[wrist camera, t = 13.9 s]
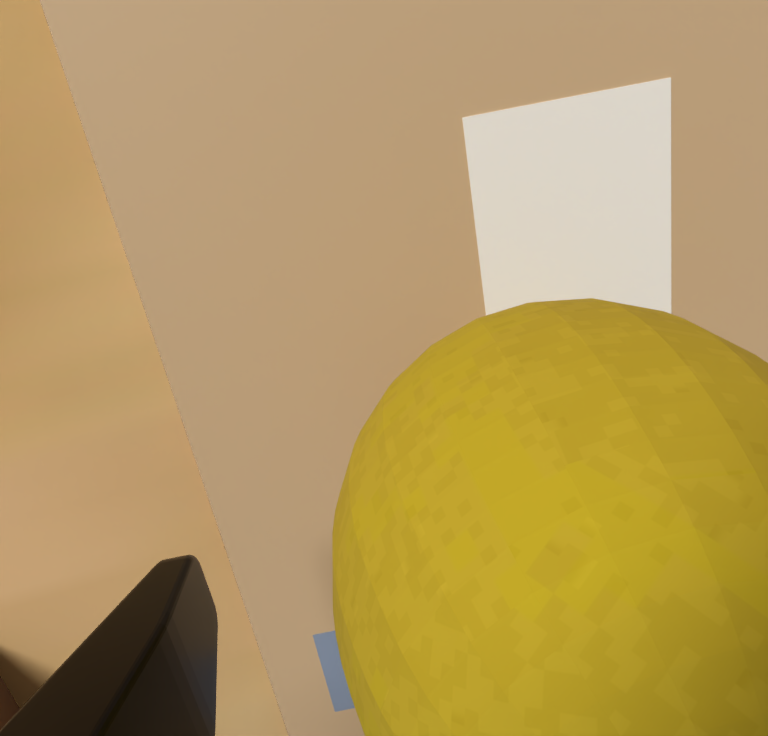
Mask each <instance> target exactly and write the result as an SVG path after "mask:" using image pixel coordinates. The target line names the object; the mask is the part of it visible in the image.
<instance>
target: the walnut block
mask: <svg viewBox="0 0 768 736" xmlns="http://www.w3.org/2000/svg"><path fill="white" fill-rule="evenodd" d="M19 710H20V709H19V707H18V705H17V704H16V702H15V700H14V698H13V697H12V695H11V693H10V692H9V690H8V688H7V687H6V685H5V683H4V682H3V680H2V678H1V677H0V730H1V729H2V728H3V727H4V726H5V725H6V723H7V722H8V721H9V720H10V719H11V718H12V717H13V716H14V715H15V714H16V713H17V712H18V711H19Z"/></svg>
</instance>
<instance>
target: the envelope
mask: <svg viewBox="0 0 768 736" xmlns="http://www.w3.org/2000/svg"><path fill="white" fill-rule="evenodd" d="M40 2H41V5H42V8H43V11H44V14H45V17H46V20H47V23H48V26H49V29H50V32H51V35H52V38H53V41H54V44H55V47H56V50H57V53H58V56H59V59H60V62H61V64H62V67H63V70H64V73H65V76H66V79H67V82H68V85H69V88H70V91H71V94H72V97H73V100H74V103H75V106H76V109H77V112H78V115H79V118H80V121H81V124H82V127H83V129H84V132H85V135H86V138H87V141H88V144H89V147H90V150H91V153H92V156H93V159H94V162H95V165H96V168H97V171H98V174H99V177H100V180H101V183H102V186H103V189H104V192H105V195H106V197H107V200H108V203H109V206H110V209H111V212H112V215H113V218H114V221H115V224H116V227H117V230H118V233H119V236H120V239H121V242H122V245H123V248H124V251H125V254H126V257H127V260H128V263H129V265H130V268H131V271H132V274H133V277H134V280H135V283H136V286H137V289H138V292H139V295H140V298H141V301H142V304H143V307H144V310H145V313H146V316H147V319H148V322H149V325H150V328H151V331H152V333H153V336H154V339H155V342H156V345H157V348H158V351H159V354H160V357H161V360H162V363H163V366H164V369H165V372H166V375H167V378H168V381H169V384H170V387H171V390H172V393H173V396H174V398H175V401H176V404H177V407H178V410H179V413H180V416H181V419H182V422H183V425H184V428H185V431H186V434H187V437H188V440H189V443H190V446H191V449H192V452H193V455H194V458H195V461H196V464H197V466H198V469H199V472H200V475H201V478H202V481H203V484H204V487H205V490H206V493H207V496H208V499H209V502H210V505H211V508H212V511H213V514H214V517H215V520H216V523H217V526H218V529H219V532H220V534H221V537H222V540H223V543H224V546H225V549H226V552H227V555H228V558H229V561H230V564H231V567H232V570H233V573H234V576H235V579H236V582H237V585H238V588H239V591H240V594H241V597H242V600H243V602H244V605H245V608H246V611H247V614H248V617H249V620H250V623H251V626H252V629H253V632H254V635H255V638H256V641H257V644H258V647H259V650H260V653H261V656H262V659H263V662H264V665H265V667H266V670H267V673H268V676H269V679H270V682H271V685H272V688H273V691H274V694H275V697H276V700H277V703H278V706H279V709H280V712H281V715H282V718H283V721H284V724H285V727H286V730H287V733H288V735H289V736H365V735H364V732H363V729H362V726H361V723H360V721H359V718H358V715H357V712H356V709H355V706H354V703H353V701H352V698H351V695H350V691H349V688H348V684H347V681H346V678H345V674H344V671H343V667H342V664H341V659H340V654H339V649H338V644H337V639H336V634H335V625H334V616H333V558H332V532H333V524H334V515H335V510H336V506H337V502H338V498H339V494H340V490H341V487H342V484H343V480H344V477H345V474H346V470H347V467H348V464H349V460H350V457H351V454H352V450H353V447H354V444H355V442H356V440H357V437H358V435H359V433H360V431H361V429H362V428H363V426H364V424H365V423H366V421H367V420H368V418H369V417H370V415H371V414H372V412H373V410H374V409H375V407H376V406H377V404H378V403H379V401H380V399H381V398H382V396H383V395H384V393H385V392H386V390H387V388H388V387H389V386H390V385H391V384H392V382H393V381H394V380H395V379H396V378H397V377H398V376H399V375H400V374H401V373H402V372H404V371H405V370H406V369H407V368H408V367H409V366H410V365H411V364H412V363H413V362H414V361H415V360H416V359H417V358H418V357H419V356H420V355H421V354H423V353H424V352H425V351H426V350H427V349H428V348H429V347H430V346H431V345H432V344H434V343H436V342H437V341H439V340H441V339H443V338H444V337H446V336H448V335H449V334H451V333H453V332H454V331H456V330H458V329H460V328H461V327H463V326H465V325H466V324H468V323H470V322H471V321H473V320H475V319H477V318H480V317H483V316H486V315H489V314H493V313H496V312H499V311H502V310H506V309H509V308H512V307H515V306H519V305H522V304H525V303H530V302H542V301H557V300H573V299H588V298H594V299H599V300H605V301H610V302H616V303H621V304H627V305H632V306H638V307H643V308H649V309H654V310H660V311H664V312H667V313H670V314H673V315H676V316H678V317H681V318H684V319H686V320H688V321H690V322H692V323H694V324H696V325H698V326H700V327H702V328H704V329H706V330H708V331H710V332H712V333H713V334H715V335H717V336H719V337H721V338H723V339H725V340H727V341H729V342H731V343H733V344H735V345H737V346H739V347H741V348H743V349H745V350H747V351H749V352H751V353H753V354H755V355H757V356H758V357H760V358H761V359H763V360H764V361H766V362H767V363H768V0H40Z"/></svg>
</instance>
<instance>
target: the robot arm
mask: <svg viewBox="0 0 768 736" xmlns="http://www.w3.org/2000/svg"><path fill="white" fill-rule="evenodd" d="M217 633H218V622H217V613H216V608H215V605H214V602H213V599H212V596H211V593H210V590H209V588H208V585H207V582H206V579H205V577H204V574H203V571H202V568H201V565H200V563H199V561H198V560H197V558H196V557H194V556H192V555H185V556H180V557H175V558H170V559H165V560H162V561H160V562H159V563H158V564H156V565H155V566H154V567H153V569H152V570H151V571H150V572H149V573H148V574H147V575H146V576H145V577H144V578H143V579H142V580H141V581H140V582H139V583H138V584H137V586H136V587H135V588H134V589H133V590H132V591H131V592H130V593H129V594H128V595H127V596H126V597H125V598H124V599H123V600H122V601H121V603H120V604H119V605H118V606H117V607H116V608H115V609H114V610H113V611H112V612H111V613H110V614H109V615H108V616H107V617H106V618H105V619H104V621H103V622H102V623H101V624H100V625H99V626H98V627H97V628H96V629H95V630H94V631H93V632H92V633H91V634H90V635H89V636H88V638H87V639H86V640H85V641H84V642H83V643H82V644H81V645H80V646H79V647H78V648H77V649H76V650H75V651H74V652H73V653H72V655H71V656H70V657H69V658H68V659H67V660H66V661H65V662H64V663H63V664H62V665H61V666H60V667H59V668H58V669H57V670H56V671H55V673H54V674H53V675H52V676H51V677H50V678H49V679H48V680H47V681H46V682H45V683H44V684H43V685H42V686H41V687H40V688H39V690H38V691H37V692H36V693H35V694H34V695H33V696H32V697H31V698H30V699H29V700H28V701H27V702H26V703H25V704H24V705H23V707H22V708H21V709H20V710H19V711H18V712H17V713H16V714H15V715H14V716H13V717H12V718H11V719H10V720H9V721H8V722H7V723H6V725H5V726H4V727H3V728H2V729H1V730H0V736H215V720H216V677H217Z"/></svg>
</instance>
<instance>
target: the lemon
mask: <svg viewBox="0 0 768 736" xmlns="http://www.w3.org/2000/svg"><path fill="white" fill-rule="evenodd" d="M332 558H333V616H334V625H335V634H336V639H337V644H338V649H339V654H340V659H341V664H342V667H343V671H344V674H345V678H346V681H347V684H348V688H349V691H350V695H351V698H352V701H353V703H354V706H355V709H356V712H357V715H358V718H359V721H360V723H361V726H362V729H363V732H364V735H365V736H768V363H767V362H766V361H764V360H763V359H761V358H760V357H758V356H757V355H755V354H753V353H751V352H749V351H747V350H745V349H743V348H741V347H739V346H737V345H735V344H733V343H731V342H729V341H727V340H725V339H723V338H721V337H719V336H717V335H715V334H713V333H712V332H710V331H708V330H706V329H704V328H702V327H700V326H698V325H696V324H694V323H692V322H690V321H688V320H686V319H684V318H681V317H678V316H676V315H673V314H670V313H667V312H664V311H660V310H654V309H649V308H643V307H638V306H632V305H627V304H621V303H616V302H610V301H605V300H599V299H594V298H588V299H573V300H557V301H542V302H530V303H525V304H522V305H519V306H515V307H512V308H509V309H506V310H502V311H499V312H496V313H493V314H489V315H486V316H483V317H480V318H477V319H475V320H473V321H471V322H470V323H468V324H466V325H465V326H463V327H461V328H460V329H458V330H456V331H454V332H453V333H451V334H449V335H448V336H446V337H444V338H443V339H441V340H439V341H437V342H436V343H434V344H432V345H431V346H430V347H429V348H428V349H427V350H426V351H425V352H424V353H423V354H421V355H420V356H419V357H418V358H417V359H416V360H415V361H414V362H413V363H412V364H411V365H410V366H409V367H408V368H407V369H406V370H405V371H404V372H402V373H401V374H400V375H399V376H398V377H397V378H396V379H395V380H394V381H393V382H392V384H391V385H390V386H389V387H388V388H387V390H386V392H385V393H384V395H383V396H382V398H381V399H380V401H379V403H378V404H377V406H376V407H375V409H374V410H373V412H372V414H371V415H370V417H369V418H368V420H367V421H366V423H365V424H364V426H363V428H362V429H361V431H360V433H359V435H358V437H357V440H356V442H355V444H354V447H353V450H352V454H351V457H350V460H349V464H348V467H347V470H346V474H345V477H344V480H343V484H342V487H341V490H340V494H339V498H338V502H337V506H336V510H335V515H334V524H333V532H332Z"/></svg>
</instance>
